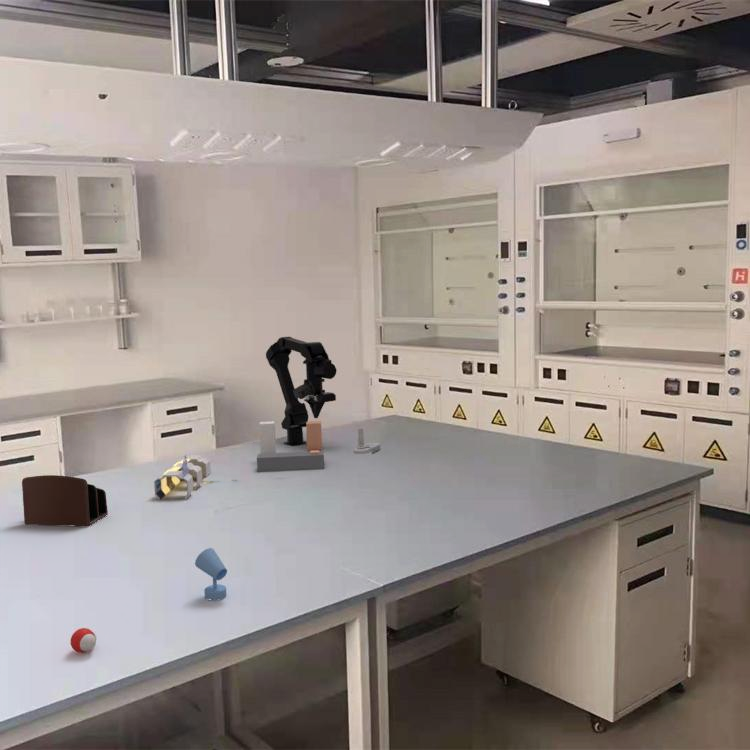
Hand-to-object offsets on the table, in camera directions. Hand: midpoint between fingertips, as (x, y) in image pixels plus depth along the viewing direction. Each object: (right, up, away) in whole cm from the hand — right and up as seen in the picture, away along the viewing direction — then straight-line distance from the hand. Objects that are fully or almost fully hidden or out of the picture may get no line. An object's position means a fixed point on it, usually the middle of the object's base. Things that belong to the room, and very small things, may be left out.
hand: (316, 418), depth 295 cm
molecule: (-31, -35, -151) cm, 157 cm away
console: (-6, -16, -24) cm, 30 cm away
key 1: (-15, -14, -21) cm, 29 cm away
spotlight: (-12, -31, -128) cm, 132 cm away
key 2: (+1, -14, -23) cm, 27 cm away
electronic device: (+19, -13, -5) cm, 24 cm away
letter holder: (-64, -25, -73) cm, 101 cm away
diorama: (-38, -20, -45) cm, 62 cm away
